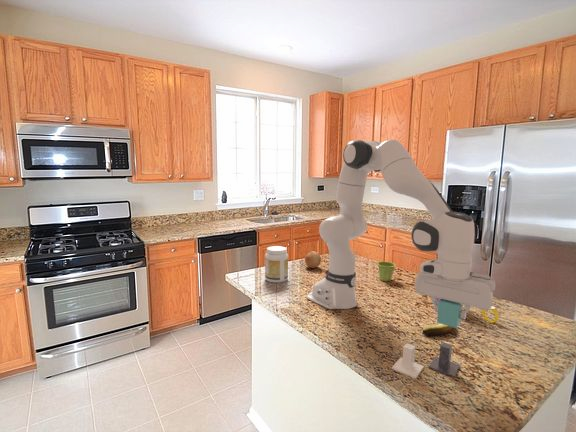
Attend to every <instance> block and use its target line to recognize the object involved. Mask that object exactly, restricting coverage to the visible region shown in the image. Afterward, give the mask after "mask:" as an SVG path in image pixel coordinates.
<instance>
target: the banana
mask: <svg viewBox="0 0 576 432" xmlns="http://www.w3.org/2000/svg"><path fill="white" fill-rule="evenodd" d="M387 329H389V330H390V331H392V332H394V333H396V334H398V335H401V336H405V337H407V335H406V334H407V333H406V332H405V331H403V330H398V326H394V325H392V324H387ZM453 329H454V327H451V326H447V325H444V324H440V323H438V324H437V325H428V326H426V327H424V328H423V329H422V330H421V331H422V332H421V333H422V334H424V335H427V336H428V337H440V336H443V335H446V334H448V333H450V332H451V331H452V330H453ZM482 333H483V331H481V332H480V338H481V339H482V338H483V335H482ZM402 334H404V335H402ZM414 341H415V342H416V343H422V344H423V343H424V341H422V340H417V339H415V340H414Z"/></svg>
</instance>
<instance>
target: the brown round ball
mask: <svg viewBox="0 0 576 432" xmlns="http://www.w3.org/2000/svg"><path fill="white" fill-rule="evenodd" d="M304 263H305V265H306V266H307V267H308V268H311V269H315V268H318V267H319V266H321V263H322V257H321V255H320V254H319V252H317V251H315V250H311V251H309V252H308V253H307V254H306V255H305V257H304Z"/></svg>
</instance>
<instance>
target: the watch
mask: <svg viewBox="0 0 576 432" xmlns="http://www.w3.org/2000/svg"><path fill="white" fill-rule="evenodd" d="M488 310H490V311H492V312H493V313H494V319H493V320H492V319H490V318H488V316H487V314H486V310H484V309H482V312H481V313H482V317H483V319H484V320H486V321H487V322H489V323H491V324H493V323H497V321H498V320H499V313H498V311H497V310H496V307H495V306H493V305H492V307H491V308H490V309H488Z"/></svg>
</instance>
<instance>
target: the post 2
mask: <svg viewBox="0 0 576 432" xmlns="http://www.w3.org/2000/svg"><path fill="white" fill-rule="evenodd" d="M452 350H453V345H452V344H449V343H447V342H443V341H442V342H441V344H440V345H439V354H438V355H439V356H436V355H435V356H434V357H433V359H432V360H431V361H430V364H429V365H428V369H430V370H433V371H436V372H438V373H441V374H443V375H447V376H449V377H451V378H455V376H456V374H457V373H458V371H459V368H460V367H461V365H460V364H458V363H456V362H453V361H451V360H452Z"/></svg>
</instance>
